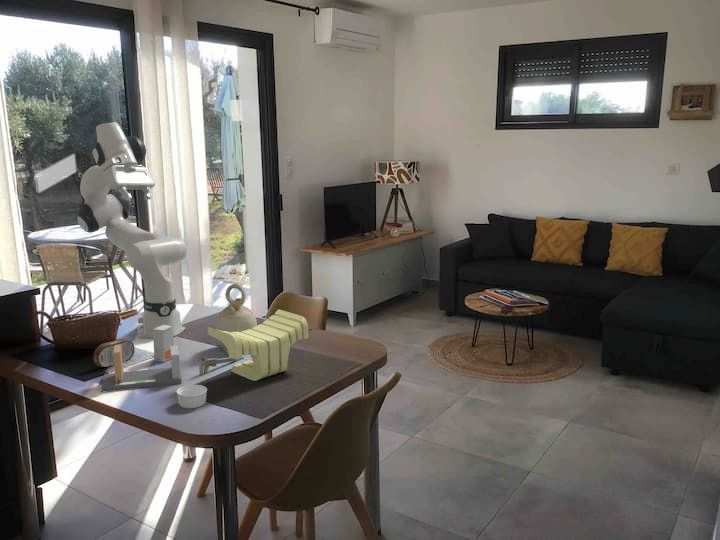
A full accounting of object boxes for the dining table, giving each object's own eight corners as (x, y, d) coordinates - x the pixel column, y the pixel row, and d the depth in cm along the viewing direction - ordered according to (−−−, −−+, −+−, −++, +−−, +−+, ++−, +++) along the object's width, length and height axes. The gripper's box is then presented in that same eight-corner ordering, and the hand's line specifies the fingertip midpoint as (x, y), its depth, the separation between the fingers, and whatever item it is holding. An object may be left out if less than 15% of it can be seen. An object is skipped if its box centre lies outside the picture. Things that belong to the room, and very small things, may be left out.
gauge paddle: (115, 385, 195) (112, 354, 193) (116, 373, 205) (114, 344, 203) (121, 384, 196) (119, 354, 194) (123, 373, 205) (121, 344, 203)
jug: (233, 339, 247) (230, 278, 242) (265, 345, 240) (264, 282, 235) (208, 350, 234) (205, 286, 228) (241, 357, 227) (239, 290, 222)
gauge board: (101, 391, 194) (99, 363, 193) (104, 378, 206) (102, 350, 204) (181, 383, 202) (180, 355, 200) (179, 370, 213) (178, 344, 211)
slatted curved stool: (238, 390, 196) (236, 336, 193) (209, 377, 207) (207, 326, 203) (308, 366, 218) (308, 317, 214) (279, 356, 228) (278, 309, 225)
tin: (131, 357, 226) (130, 335, 224) (136, 359, 224) (135, 337, 222) (93, 369, 214) (91, 346, 212) (98, 371, 212) (96, 347, 210)
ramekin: (198, 395, 193) (197, 382, 192) (213, 403, 187) (212, 390, 186) (171, 403, 187) (171, 389, 186) (186, 412, 181) (185, 398, 180)
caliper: (201, 376, 209) (201, 358, 208) (199, 375, 209) (198, 358, 208) (244, 359, 226) (243, 342, 224) (241, 358, 226) (241, 342, 225)
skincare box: (164, 362, 221) (162, 330, 218) (154, 361, 222) (152, 329, 220) (174, 357, 226) (172, 325, 224) (164, 355, 228) (163, 324, 225)
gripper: (138, 169, 229) (153, 203, 228) (95, 167, 210) (111, 203, 209) (150, 161, 226) (165, 195, 226) (107, 158, 208) (124, 195, 207)
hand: (139, 199), depth 217 cm, fingers open, 8 cm apart
